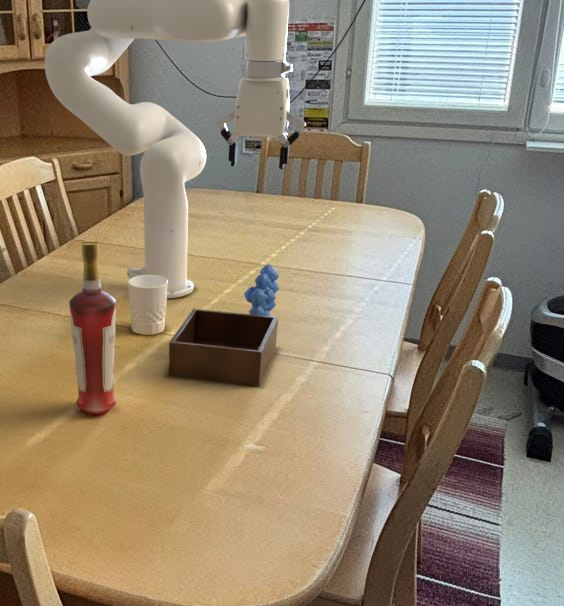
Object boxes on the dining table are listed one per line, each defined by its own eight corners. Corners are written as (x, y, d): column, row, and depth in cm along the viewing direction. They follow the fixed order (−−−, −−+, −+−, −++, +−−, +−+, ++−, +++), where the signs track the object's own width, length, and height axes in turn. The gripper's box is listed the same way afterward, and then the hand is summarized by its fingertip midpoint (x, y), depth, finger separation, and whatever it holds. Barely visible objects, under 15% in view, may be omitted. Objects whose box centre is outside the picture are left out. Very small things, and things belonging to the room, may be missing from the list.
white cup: (173, 325, 176) (173, 277, 171) (158, 338, 171) (158, 289, 165) (138, 319, 179) (137, 272, 174) (122, 333, 173) (121, 284, 168)
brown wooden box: (168, 375, 156) (169, 342, 152) (192, 340, 170) (193, 308, 166) (258, 386, 152) (261, 352, 148) (275, 349, 165) (278, 316, 162)
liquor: (76, 399, 148) (68, 236, 133) (119, 399, 148) (115, 235, 133) (73, 418, 142) (63, 250, 127) (117, 418, 142) (113, 249, 127)
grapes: (251, 312, 182) (255, 255, 175) (282, 316, 180) (287, 259, 173) (232, 330, 173) (235, 272, 167) (264, 336, 171) (269, 276, 164)
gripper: (313, 69, 162) (304, 164, 171) (223, 67, 166) (219, 160, 176) (307, 74, 156) (298, 173, 165) (214, 71, 160) (211, 168, 170)
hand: (257, 166), depth 170 cm, fingers open, 9 cm apart
